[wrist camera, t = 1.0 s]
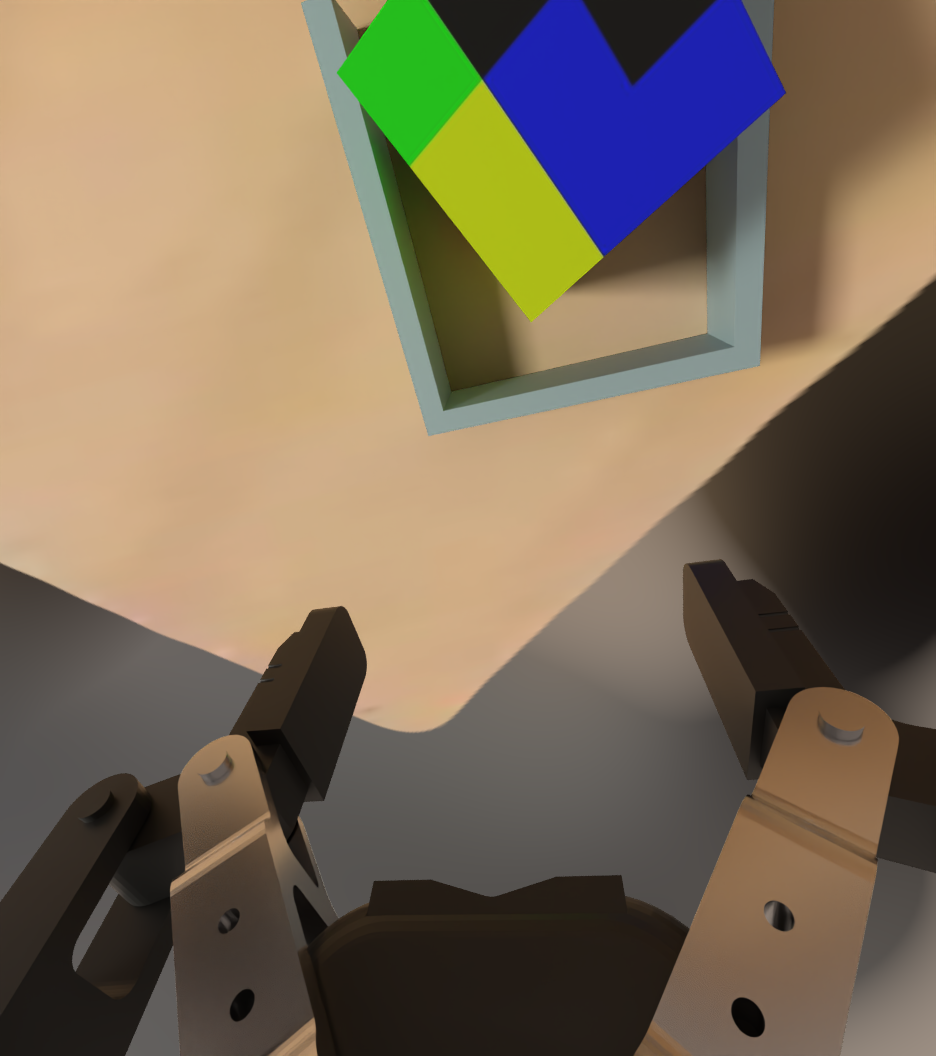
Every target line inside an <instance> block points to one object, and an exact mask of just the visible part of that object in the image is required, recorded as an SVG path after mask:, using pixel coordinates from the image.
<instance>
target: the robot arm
mask: <svg viewBox="0 0 936 1056" xmlns="http://www.w3.org/2000/svg"><path fill="white" fill-rule="evenodd" d="M683 619H684V627H685V632H686V636H687V640H688V643H689V646H690V648H691V650H692V653H693V655H694V657H695V660H696V662H697V664H698V667H699V669H700V671H701V674H702V676H703V678H704V681H705V683H706V685H707V688H708V690H709V692H710V695H711V697H712V699H713V702H714V704H715V706H716V709H717V711H718V713H719V716H720V718H721V720H722V723H723V725H724V727H725V730H726V732H727V735H728V737H729V739H730V741H731V744H732V746H733V749H734V751H735V753H736V755H737V758H738V760H739V763H740V765H741V767H742V769H743V772H744V774H745V777H746V778H747V780H754V779H758V782H757V784H756V787H755V789H754V791H753V793H752V795H751V796H750V795H747V796H746V797H745V798H744V800H743V802H742V804H741V806H740V808H739V810H738V813H737V815H736V817H735V820H734V822H733V825H732V827H731V830H730V832H729V834H728V837H727V839H726V842H725V844H724V847H723V849H722V852H721V854H720V857H719V859H718V862H717V864H716V866H715V869H714V871H713V874H712V876H711V878H710V881H709V883H708V886H707V888H706V890H705V893H704V896H703V898H702V900H701V903H700V905H699V908H698V910H697V913H696V915H695V917H694V920H693V922H692V925H691V927H690V929H689V928H688V927H687V926H685V925H684V924H682V923H681V922H680V921H678V920H677V919H676V918H674V917H673V916H671V915H669V914H668V913H666V912H664V911H662V910H661V909H659V908H657V907H655V906H653V905H650V904H648V903H646V902H643V901H641V900H638V899H634V898H631V897H627V896H625V894H624V888H623V882H622V876H621V875H612V876H572V877H570V876H569V877H554V878H551V879H549V880H545V881H542V882H539V883H536V884H533V885H530V886H527V887H524V888H521V889H517V890H514V891H511V892H508V893H505V894H502V895H499V896H495V897H488V896H484V895H480V894H477V893H473V892H470V891H467V890H463V889H460V888H457V887H453V886H450V885H447V884H443V883H440V882H436V881H433V880H398V881H374V883H373V888H372V893H371V897H370V902H369V903H367V904H364V905H362V906H360V907H358V908H356V909H354V910H352V911H350V912H349V913H347V914H346V915H344V916H342V917H341V918H338V916H337V914H336V913H335V911H334V909H333V907H332V904H331V902H330V900H329V898H328V895H327V892H326V890H325V886H324V883H323V881H322V878H321V875H320V872H319V869H318V866H317V863H316V860H315V857H314V854H313V851H312V848H311V845H310V842H309V840H308V837H307V834H306V831H305V828H304V825H303V822H302V820H301V818H300V817H299V813H300V811H301V808H302V805H303V803H304V802H310V801H324V799H325V796H326V793H327V790H328V787H329V784H330V781H331V778H332V775H333V772H334V769H335V766H336V763H337V760H338V757H339V754H340V751H341V748H342V745H343V742H344V739H345V736H346V733H347V730H348V727H349V724H350V721H351V718H352V715H353V712H354V709H355V706H356V703H357V700H358V697H359V694H360V691H361V688H362V685H363V682H364V679H365V676H366V670H367V661H366V654H365V651H364V648H363V646H362V644H361V641H360V639H359V637H358V634H357V632H356V630H355V627H354V625H353V623H352V620H351V618H350V616H349V613H348V611H347V610H346V609H345V608H344V607H343V606H339V607H331V608H323V609H315V610H312V611H311V612H310V613H309V615H308V617H307V619H306V620H305V622H304V624H303V626H302V628H301V630H300V632H294V633H293V634H292V635H291V636H290V637H289V638H288V639H287V640H286V641H285V642H284V643H283V644H282V645H281V646H280V647H279V648H278V649H277V651H276V653H275V655H274V656H273V658H272V660H271V662H270V663H269V665H268V666H269V668H268V669H266V671H265V672H264V674H263V676H262V678H261V683H258V685H257V686H256V688H255V690H254V692H253V694H252V696H251V697H250V699H249V701H248V702H247V704H246V706H245V708H244V709H243V711H242V713H241V715H240V717H239V718H238V720H237V722H236V724H235V725H234V727H233V729H232V731H231V732H230V734H229V736H225V737H222V738H219V739H217V740H215V741H213V742H211V743H209V744H208V745H206V746H205V747H203V748H202V749H201V750H200V751H198V752H197V753H196V754H195V755H194V756H193V757H192V758H191V759H190V761H189V762H188V763H187V764H186V766H185V767H184V769H183V771H182V773H181V774H180V775H177V776H174V777H171V778H169V779H166V780H163V781H160V782H158V783H155V784H152V785H150V786H147V787H143V786H142V785H141V783H140V782H139V781H138V780H137V779H136V778H135V777H134V776H133V775H131V774H127V773H125V774H117V775H113V776H111V777H108V778H106V779H104V780H102V781H100V782H98V783H97V784H95V785H93V786H92V787H91V788H89V789H88V790H87V791H85V792H84V793H83V794H82V795H81V796H80V797H78V799H76V801H75V802H73V804H72V805H71V806H70V807H69V808H68V810H67V811H66V812H65V814H64V815H63V816H62V818H61V819H60V821H59V822H58V823H57V825H56V826H55V827H54V829H53V830H52V831H51V833H50V834H49V836H48V837H47V838H46V840H45V841H44V843H43V844H42V845H41V847H40V848H39V849H38V851H37V852H36V854H35V855H34V856H33V858H32V859H31V860H30V862H29V863H28V865H27V866H26V867H25V869H24V870H23V872H22V873H21V874H20V876H19V877H18V879H17V880H16V881H15V883H14V884H13V885H12V887H11V888H10V890H9V891H8V892H7V894H6V895H5V896H4V898H3V899H2V901H1V902H0V1056H125V1054H126V1052H127V1050H128V1048H129V1045H130V1043H131V1041H132V1038H133V1036H134V1034H135V1031H136V1029H137V1027H138V1024H139V1022H140V1020H141V1018H142V1015H143V1013H144V1011H145V1008H146V1006H147V1004H148V1001H149V999H150V997H151V994H152V992H153V990H154V988H155V985H156V983H157V981H158V978H159V976H160V974H161V972H162V969H163V967H164V965H165V962H166V960H167V958H168V955H169V953H170V951H171V948H172V946H173V951H174V966H175V983H176V997H177V1014H178V1030H179V1046H180V1056H840V1054H841V1049H842V1043H843V1038H844V1033H845V1028H846V1023H847V1018H848V1013H849V1008H850V1003H851V998H852V993H853V988H854V983H855V978H856V973H857V967H858V962H859V958H860V952H861V948H862V942H863V937H864V932H865V927H866V922H867V917H868V912H869V907H870V902H871V897H872V892H873V887H874V881H875V876H876V871H877V862H878V859H877V858H876V857H878V858H882V859H885V860H889V861H893V862H896V863H900V864H904V865H908V866H911V867H915V868H919V869H923V870H927V871H930V872H934V873H936V729H931V728H925V727H919V726H914V725H909V724H904V723H901V722H898V721H894V720H891V719H890V717H889V716H888V715H887V714H886V713H885V712H884V711H883V710H882V709H880V708H879V707H878V706H877V705H875V704H874V703H872V702H871V701H869V700H867V699H865V698H863V697H861V696H859V695H857V694H854V693H851V692H849V691H846V690H845V689H844V688H843V687H842V685H841V684H840V683H839V681H838V680H837V678H836V677H835V676H834V675H833V673H832V672H831V670H830V669H829V667H828V666H827V665H826V663H825V662H824V661H823V659H822V658H821V657H820V655H819V654H818V652H817V651H816V650H815V648H814V647H813V645H812V644H811V643H810V641H809V640H808V639H807V637H806V636H805V634H804V633H803V632H802V630H799V628H798V625H797V624H796V622H795V621H794V619H793V618H792V617H791V615H788V611H787V610H786V608H785V607H784V606H783V604H782V603H781V601H780V600H779V599H778V598H777V596H776V594H775V593H773V592H772V591H770V590H769V589H767V588H766V587H764V586H762V585H761V584H759V583H758V582H756V581H755V580H753V579H751V580H741V581H736V579H735V577H734V576H733V574H732V573H731V571H730V570H729V568H728V567H727V565H726V563H725V562H724V561H723V560H721V559H719V560H711V561H703V562H695V563H687V564H685V565H684V569H683ZM108 885H110V886H111V887H112V888H113V889H114V890H115V891H116V892H117V893H119V894H118V896H117V897H116V899H115V901H114V903H113V905H112V907H111V908H110V910H109V912H108V914H107V916H106V917H105V919H104V921H103V923H102V925H101V927H100V928H99V930H98V932H97V934H96V935H95V937H94V939H93V941H92V943H91V945H90V946H89V948H88V950H87V952H86V954H85V955H84V957H83V959H82V961H81V963H80V965H79V966H78V968H77V970H76V972H75V971H74V969H73V965H72V955H73V950H74V946H75V944H76V941H77V939H78V937H79V935H80V933H81V932H82V930H83V928H84V926H85V925H86V923H87V921H88V919H89V918H90V916H91V914H92V912H93V911H94V909H95V907H96V906H97V904H98V902H99V900H100V899H101V897H102V895H103V893H104V891H105V890H106V888H107V886H108Z"/></svg>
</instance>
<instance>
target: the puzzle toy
mask: <svg viewBox="0 0 936 1056" xmlns="http://www.w3.org/2000/svg"><path fill="white" fill-rule="evenodd" d="M337 74H338V75H339V77H340V78H341V79H342V80H343V82H344V83H345V84H346V86H347V87H348V88H349V89H350V91H351V92H352V93H353V95H354V96H355V97H356V98H357V100H358V101H359V102H360V104H361V105H362V106H363V107H364V109H365V110H366V111H367V113H368V114H369V115H370V116H371V118H372V119H373V120H374V122H375V123H376V124H377V125H378V127H379V128H380V129H381V130H382V132H383V133H384V134H385V136H386V137H387V138H388V139H389V141H390V142H391V143H392V145H393V146H394V147H395V148H396V150H397V151H398V152H399V154H400V155H401V156H402V157H403V159H404V160H405V161H406V163H407V164H408V165H409V166H410V168H411V169H412V170H413V172H414V173H415V174H416V175H417V177H418V178H419V179H420V180H421V182H422V183H423V184H424V186H425V187H426V188H427V189H428V191H429V192H430V193H431V195H432V196H433V197H434V198H435V200H436V201H437V202H438V204H439V205H440V206H441V207H442V209H443V210H444V211H445V213H446V214H447V215H448V216H449V218H450V219H451V220H452V222H453V223H454V224H455V225H456V227H457V228H458V229H459V230H460V232H461V233H462V234H463V236H464V237H465V238H466V239H467V241H468V242H469V243H470V245H471V246H472V247H473V248H474V250H475V251H476V252H477V254H478V255H479V256H480V257H481V259H482V260H483V261H484V263H485V264H486V265H487V266H488V268H489V269H490V270H491V272H492V273H493V274H494V275H495V277H496V278H497V279H498V281H499V282H500V283H501V284H502V286H503V287H504V288H505V289H506V291H507V292H508V293H509V295H510V296H511V297H512V298H513V300H514V301H515V302H516V304H517V305H518V306H519V307H520V309H521V310H522V311H523V313H524V314H525V315H526V316H527V318H528V319H529V320H530V322H532V321H533V320H534V319H535V318H537V317H538V316H539V315H540V314H541V313H542V312H543V311H544V310H545V309H547V308H548V307H549V306H550V305H551V304H552V303H553V302H554V301H555V300H557V299H558V298H559V297H560V296H561V295H562V294H563V293H564V292H565V291H567V290H568V289H569V288H570V287H571V286H572V285H573V284H574V283H575V282H577V281H578V280H579V279H580V278H581V277H582V276H583V275H584V274H585V273H587V272H588V271H589V270H590V269H591V268H592V267H593V266H594V265H595V264H597V263H598V262H599V261H600V260H601V259H602V258H603V257H604V256H605V255H607V254H608V253H609V252H610V251H611V250H612V249H613V248H614V247H615V246H617V245H618V244H619V243H620V242H621V241H622V240H623V239H624V238H625V237H627V236H628V235H629V234H630V233H631V232H632V231H633V230H634V229H635V228H637V227H638V226H639V225H640V224H641V223H642V222H643V221H644V220H646V219H647V218H648V217H649V216H650V215H651V214H652V213H653V212H654V211H656V210H657V209H658V208H659V207H660V206H661V205H662V204H663V203H664V202H666V201H667V200H668V199H669V198H670V197H671V196H672V195H673V194H674V193H676V192H677V191H678V190H679V189H680V188H681V187H682V186H683V185H684V184H686V183H687V182H688V181H689V180H690V179H691V178H692V177H693V176H694V175H696V174H697V173H698V172H699V171H700V170H701V169H702V168H703V167H704V166H706V165H707V164H708V163H709V162H710V161H711V160H712V159H713V158H714V157H716V156H717V155H718V154H719V153H720V152H721V151H722V150H723V149H724V148H726V147H727V146H728V145H729V144H730V143H731V142H732V141H733V140H734V139H736V138H737V137H738V136H739V135H740V134H741V133H742V132H743V131H744V130H746V129H747V128H748V127H749V126H750V125H751V124H752V123H753V122H754V121H756V120H757V119H758V118H759V117H760V116H761V115H762V114H763V113H764V112H766V111H767V110H768V109H769V108H770V107H771V106H772V105H773V104H774V103H776V102H777V101H778V100H779V99H780V98H781V97H782V96H783V95H784V94H786V92H785V90H784V88H783V85H782V83H781V81H780V79H779V77H778V75H777V73H776V71H775V69H774V67H773V65H772V63H771V60H770V58H769V56H768V54H767V52H766V50H765V48H764V46H763V44H762V42H761V40H760V38H759V35H758V33H757V31H756V29H755V27H754V25H753V23H752V21H751V19H750V17H749V15H748V13H747V11H746V8H745V6H744V4H743V2H742V0H387V2H386V3H385V5H384V6H383V7H382V9H381V10H380V12H379V13H378V14H377V16H376V17H375V19H374V20H373V22H372V23H371V24H370V26H369V27H368V29H367V30H366V32H365V33H364V34H363V36H362V37H361V39H360V40H359V41H358V43H357V44H356V46H355V47H354V49H353V50H352V51H351V53H350V54H349V56H348V57H347V59H346V60H345V61H344V63H343V64H342V66H341V67H340V68H339V70H338V71H337Z"/></svg>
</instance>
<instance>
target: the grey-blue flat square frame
mask: <svg viewBox="0 0 936 1056" xmlns="http://www.w3.org/2000/svg"><path fill="white" fill-rule="evenodd" d="M742 2H743V4H744V6H745V8H746V11H747V13H748V15H749V17H750V19H751V21H752V23H753V25H754V27H755V29H756V31H757V33H758V35H759V38H760V40H761V42H762V44H763V46H764V48H765V50H766V52H767V54H768V56H769V58H770V60H771V63H772V42H773V17H774V0H742ZM301 5H302V8H303V12H304V15H305V19H306V22H307V25H308V29H309V32H310V36H311V39H312V42H313V46H314V49H315V52H316V56H317V59H318V63H319V66H320V69H321V73H322V76H323V80H324V83H325V86H326V90H327V93H328V97H329V100H330V103H331V107H332V110H333V114H334V117H335V120H336V124H337V127H338V131H339V134H340V137H341V141H342V144H343V147H344V151H345V154H346V158H347V161H348V164H349V168H350V171H351V175H352V178H353V181H354V185H355V188H356V192H357V195H358V198H359V202H360V205H361V209H362V212H363V215H364V219H365V222H366V225H367V229H368V232H369V236H370V239H371V242H372V246H373V249H374V253H375V256H376V259H377V263H378V266H379V270H380V273H381V276H382V280H383V283H384V287H385V290H386V293H387V297H388V300H389V303H390V307H391V310H392V314H393V317H394V320H395V324H396V327H397V331H398V334H399V337H400V341H401V344H402V348H403V351H404V354H405V358H406V361H407V365H408V368H409V371H410V375H411V378H412V382H413V385H414V388H415V392H416V395H417V398H418V402H419V405H420V409H421V412H422V415H423V419H424V422H425V426H426V429H427V432H428V436H431V435H435V434H440V433H445V432H450V431H454V430H459V429H464V428H468V427H473V426H478V425H483V424H487V423H492V422H497V421H501V420H506V419H511V418H516V417H520V416H525V415H530V414H535V413H539V412H544V411H549V410H553V409H558V408H563V407H568V406H572V405H577V404H582V403H586V402H591V401H596V400H601V399H605V398H610V397H615V396H620V395H624V394H629V393H634V392H638V391H643V390H648V389H653V388H657V387H662V386H667V385H671V384H676V383H681V382H686V381H690V380H695V379H700V378H705V377H709V376H714V375H719V374H723V373H728V372H733V371H738V370H742V369H747V368H752V367H756V366H760V349H761V323H762V298H763V272H764V246H765V221H766V195H767V170H768V144H769V119H770V108H769V109H768V110H767V111H766V112H764V113H763V114H762V115H761V116H760V117H759V118H758V119H757V120H756V121H754V122H753V123H752V124H751V125H750V126H749V127H748V128H747V129H746V130H744V131H743V132H742V133H741V134H740V135H739V136H738V137H737V138H736V139H734V140H733V141H732V142H731V143H730V144H729V145H728V146H727V147H726V148H724V149H723V150H722V151H721V152H720V153H719V154H718V155H717V156H716V157H714V158H713V159H712V160H711V161H710V162H709V163H708V164H707V165H706V232H707V330H708V333H707V334H703V335H699V336H694V337H690V338H685V339H681V340H677V341H672V342H668V343H663V344H659V345H655V346H650V347H646V348H641V349H637V350H633V351H628V352H624V353H619V354H615V355H611V356H606V357H602V358H597V359H593V360H589V361H584V362H580V363H575V364H571V365H567V366H562V367H558V368H553V369H549V370H545V371H540V372H536V373H531V374H527V375H523V376H518V377H514V378H509V379H505V380H501V381H496V382H492V383H487V384H483V385H479V386H474V387H470V388H465V389H461V390H457V391H452V392H451V389H450V385H449V381H448V377H447V373H446V370H445V366H444V362H443V358H442V354H441V350H440V346H439V343H438V339H437V335H436V331H435V327H434V323H433V320H432V316H431V312H430V308H429V304H428V300H427V296H426V293H425V289H424V285H423V281H422V277H421V273H420V270H419V266H418V262H417V258H416V254H415V250H414V246H413V243H412V239H411V235H410V231H409V227H408V223H407V220H406V216H405V212H404V208H403V204H402V200H401V196H400V193H399V189H398V185H397V181H396V177H395V173H394V170H393V166H392V162H391V158H390V154H389V150H388V146H387V143H386V139H385V135H384V133H383V132H382V130H381V129H380V128H379V127H378V125H377V124H376V123H375V122H374V120H373V119H372V118H371V116H370V115H369V114H368V113H367V111H366V110H365V109H364V107H363V106H362V105H361V104H360V102H359V101H358V100H357V98H356V97H355V96H354V95H353V93H352V92H351V91H350V89H349V88H348V87H347V86H346V84H345V83H344V82H343V80H342V79H341V78H340V77H339V75H338V74H337V71H338V70H339V68H340V67H341V66H342V64H343V63H344V61H345V60H346V59H347V57H348V56H349V54H350V53H351V51H352V50H353V49H354V47H355V46H356V44H357V43H358V41H359V40H360V39H359V35H358V31H357V28H356V27H355V26H354V24H353V23H352V22H351V20H350V19H349V18H348V16H347V15H346V14H345V12H344V11H343V10H342V8H341V7H340V6H339V4H338V3H337V2H336V0H307V1H304V2H302V3H301Z"/></svg>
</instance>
